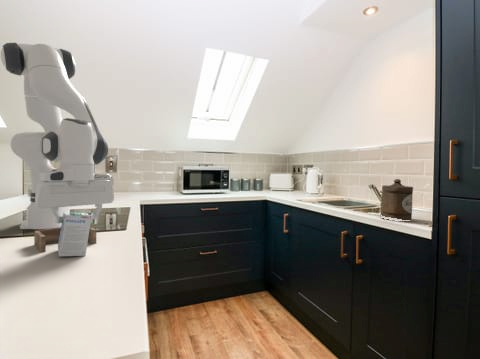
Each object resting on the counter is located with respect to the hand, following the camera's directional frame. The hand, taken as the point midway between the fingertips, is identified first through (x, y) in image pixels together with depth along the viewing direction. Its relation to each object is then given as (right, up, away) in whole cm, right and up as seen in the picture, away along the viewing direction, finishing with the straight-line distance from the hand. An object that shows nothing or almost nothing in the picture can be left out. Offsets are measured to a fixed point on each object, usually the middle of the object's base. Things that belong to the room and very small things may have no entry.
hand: (77, 220), depth 82 cm
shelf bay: (-8, -9, +8) cm, 14 cm away
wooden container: (+133, -10, +69) cm, 150 cm away
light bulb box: (-1, -9, -1) cm, 9 cm away
